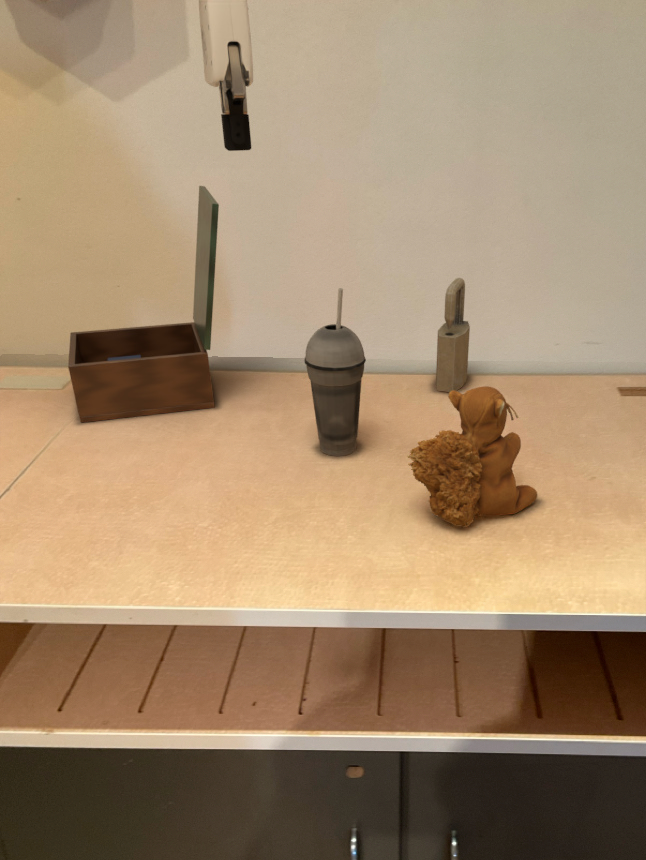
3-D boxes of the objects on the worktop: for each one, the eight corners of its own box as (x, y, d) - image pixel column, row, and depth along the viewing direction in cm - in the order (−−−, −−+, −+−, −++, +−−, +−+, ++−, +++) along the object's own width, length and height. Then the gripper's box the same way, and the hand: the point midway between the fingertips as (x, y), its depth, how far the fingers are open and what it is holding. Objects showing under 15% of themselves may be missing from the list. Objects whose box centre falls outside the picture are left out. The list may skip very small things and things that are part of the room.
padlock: (431, 390, 116) (435, 287, 108) (445, 371, 123) (449, 273, 115) (457, 393, 116) (463, 289, 108) (470, 374, 122) (476, 275, 114)
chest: (80, 422, 105) (68, 366, 101) (81, 384, 117) (70, 332, 113) (214, 407, 110) (207, 353, 106) (202, 372, 122) (196, 321, 118)
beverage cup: (334, 431, 104) (328, 275, 93) (378, 445, 100) (377, 285, 90) (297, 450, 99) (286, 288, 88) (342, 466, 95) (336, 299, 85)
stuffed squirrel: (542, 499, 89) (555, 388, 82) (468, 550, 80) (475, 430, 73) (470, 472, 94) (477, 366, 87) (393, 517, 85) (393, 403, 78)
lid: (212, 203, 97) (218, 204, 97) (199, 185, 108) (205, 186, 109) (204, 349, 106) (210, 350, 106) (192, 318, 117) (198, 319, 118)
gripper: (182, -23, 96) (202, 144, 106) (194, -32, 84) (215, 157, 94) (243, -22, 98) (257, 142, 108) (264, -30, 86) (278, 155, 96)
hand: (238, 149), depth 101 cm, fingers closed
